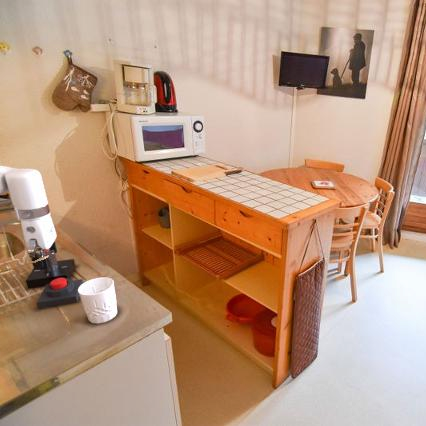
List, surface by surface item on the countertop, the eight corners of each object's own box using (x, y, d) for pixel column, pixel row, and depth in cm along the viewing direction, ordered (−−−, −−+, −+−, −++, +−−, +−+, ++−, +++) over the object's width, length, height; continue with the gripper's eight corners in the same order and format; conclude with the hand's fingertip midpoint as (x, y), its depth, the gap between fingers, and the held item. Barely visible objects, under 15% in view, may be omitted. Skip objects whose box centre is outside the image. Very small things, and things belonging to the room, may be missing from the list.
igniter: (38, 308, 89) (34, 297, 87) (48, 290, 96) (44, 279, 94) (77, 302, 92) (74, 291, 91) (84, 284, 100) (81, 274, 98)
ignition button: (50, 290, 91) (48, 285, 90) (53, 283, 94) (52, 278, 93) (65, 288, 92) (64, 283, 91) (68, 281, 95) (67, 276, 94)
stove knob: (56, 271, 100) (51, 254, 98) (40, 273, 98) (35, 255, 96) (60, 264, 103) (55, 247, 101) (45, 266, 102) (39, 249, 99)
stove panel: (27, 288, 96) (24, 280, 95) (38, 271, 104) (36, 263, 103) (68, 282, 100) (66, 274, 99) (75, 266, 108) (73, 258, 107)
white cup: (102, 328, 84) (94, 297, 80) (78, 321, 86) (70, 290, 82) (126, 309, 91) (120, 280, 87) (104, 303, 93) (97, 274, 89)
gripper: (39, 222, 87) (53, 274, 94) (57, 200, 102) (68, 246, 108) (3, 224, 84) (20, 278, 91) (27, 201, 99) (40, 249, 105)
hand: (46, 260), depth 100 cm, fingers open, 9 cm apart
